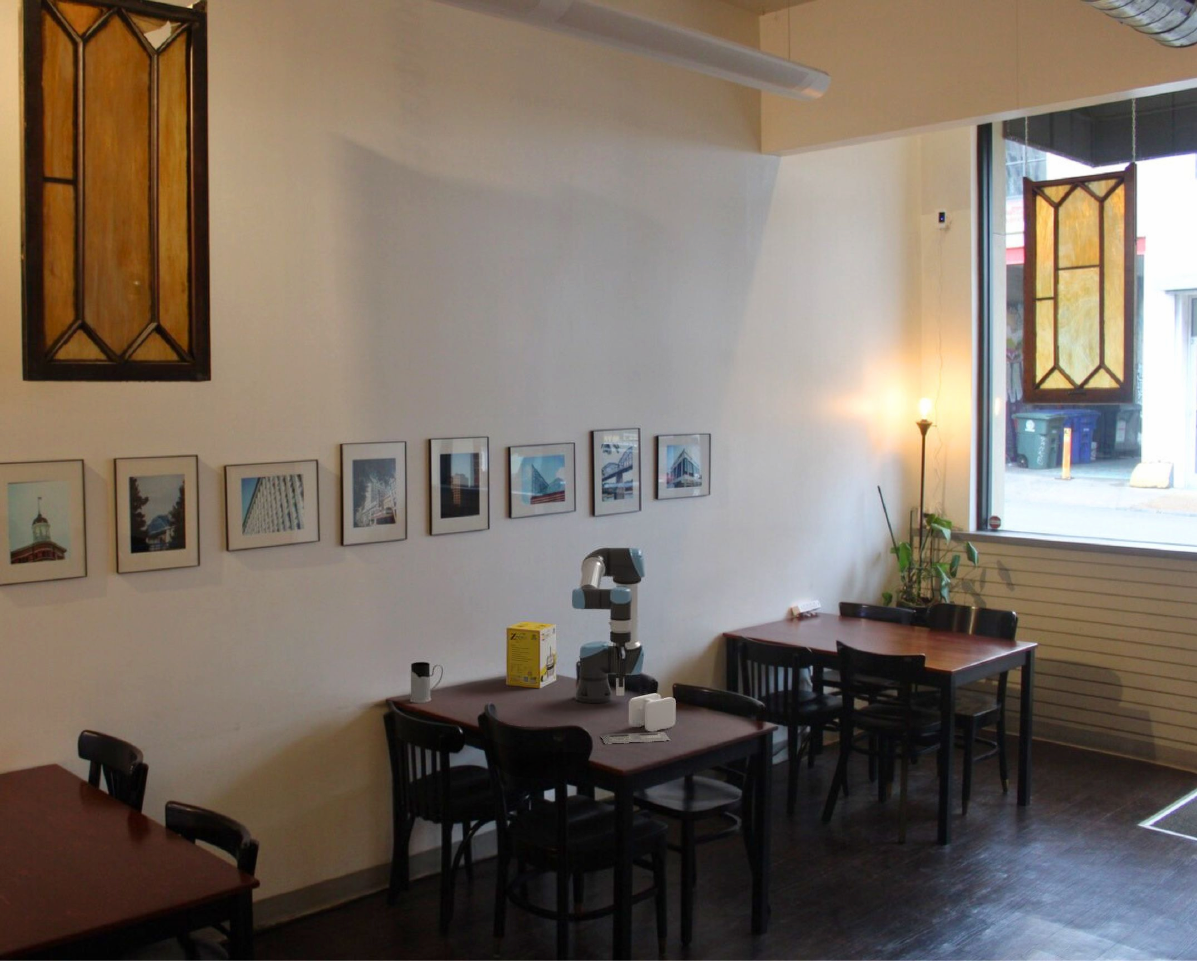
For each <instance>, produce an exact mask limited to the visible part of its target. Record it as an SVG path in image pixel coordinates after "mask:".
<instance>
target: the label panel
mask: <svg viewBox="0 0 1197 961" xmlns="http://www.w3.org/2000/svg"><path fill="white" fill-rule="evenodd" d="M599 737H600V739H601V738H602V739H603V740H602V739H601V740H602V742H603V741H604V742H603V743H605V744H604V745H613V744H612V743H624V744H630V743H629V742H644V743H655V742H654V741H664V742H667V741H666V740H669V741H668V742H671V739H670V737H669V736H668V735H667V734H666V732H665V731H661V732H659V731H655V732H637V733H636V732H635V733H617V734H600V735H599ZM652 741H653V742H652ZM606 743H608V744H606Z"/></svg>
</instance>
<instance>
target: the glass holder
mask: <svg viewBox="0 0 1197 961" xmlns="http://www.w3.org/2000/svg"><path fill="white" fill-rule="evenodd" d="M430 667H431V666H430V663H429V662H426V661H417V662H413V663H411V665H410V699H409V701H410V702H411V703H414V704H415V703H416V704H422V703H429V702H430V701H432V698H431V693H432V692H433V690H434V689H436V687H437V686H438V685H439V684H440V682H441V680H442V678H443V674H444V673H443V672H444V669H443V666H441V665H440V664H436V665H434V666H433V667H432V671H431V670H430ZM436 667H441V668H440V669H441V675H440V678H439V680H438V681H437V683H436V684H435V685H434V686H433V687H432V688H431V677H432V676H434V675H435V673H434V672H435V668H436ZM430 672H431V673H432V674H430Z"/></svg>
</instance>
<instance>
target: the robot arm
mask: <svg viewBox="0 0 1197 961" xmlns="http://www.w3.org/2000/svg"><path fill="white" fill-rule="evenodd" d="M580 569H581V570H580V571H581V574H582V575H581V580H580V584H579V588H574V589H573V590H572V592H571V605H572V608H573V609H575V610H607V611H608V610H609V612H610V617H609V618H610V621H609V622H608V625H609V626H610V628H609V629H610V632H609V641H610V642H611V643H612V645H609V643H608V642H607V641H604V640H602V641H601V640H600V641H593V642H588V643H585V644H583V645H581V646H580V649H579V681H578V685H577V688H576V691H575V694H574V695H575V696H574V697H575V700H576V701H577V700H578V702H581V703H585V702H586V703H587V704H601V703H603V704H604V703H607V702H610V701H611V700H613V692H612V689H611V687H610V686H611V685H610V683H609V678H608V677H609V675H615V677H614V678H615V695H616V696H618V697H620V696H625V678H626V676H628V675H629V676H632V675H633V676H635V675H640V674H641V673H642V671H643V666H644V658H645V657H644V656H645V651H646V650H645V649H646V648H645V646H643V645H642V641H641V640H640V639H639V638H638V634H639V630H638V629H639V628H638V622H639V620H638V618H639V616H638V615H639V614H638V611H639V609H638V608H639V607H638V606H639V605H638V602H639V601H638V593H639V592H638V591H639V590H638V585H639V584H640V583H642V579H643V578H644V577H645V576H646V569H645V560H644V554H643V551H642V550H641V549H640V548H633V547H601V548H598V549H595V550H593V551H592V552H590V553H589V554H587V556H585V558H583V560H582V563H581V567H580ZM603 577H606V578H608V577H609V578H612V582H613V583H614V584H615V585H616V587H613V588H601V582H602V578H603ZM586 703H585V704H586Z"/></svg>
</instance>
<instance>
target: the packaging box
mask: <svg viewBox="0 0 1197 961" xmlns="http://www.w3.org/2000/svg"><path fill="white" fill-rule="evenodd" d="M505 635H506V638H505V639H506V643H505V644H506V657H505V658H506V659H505V660H506V662H505V663H506V664H505V665H506V685H507V686H516V687H523V688H524V687H525V688H532V689H542V688H543V687H544V688H545V687H546V686H547V685H549V684H551V683H554V682H556V681H557V624H553V623H546V622H533V621H522V622H519V623H515V624H513V625H511V626H508V627H506V632H505Z"/></svg>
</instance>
